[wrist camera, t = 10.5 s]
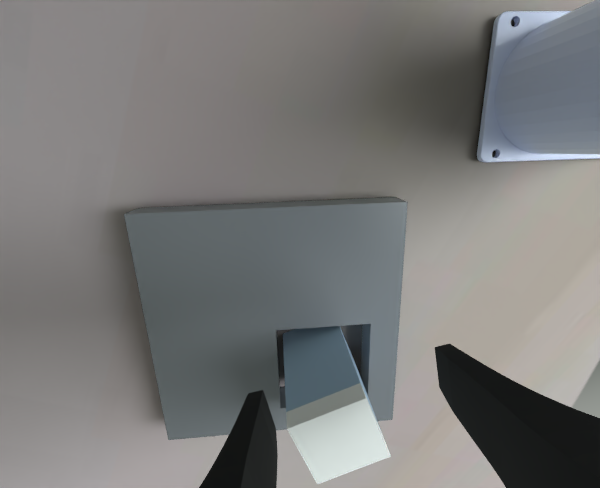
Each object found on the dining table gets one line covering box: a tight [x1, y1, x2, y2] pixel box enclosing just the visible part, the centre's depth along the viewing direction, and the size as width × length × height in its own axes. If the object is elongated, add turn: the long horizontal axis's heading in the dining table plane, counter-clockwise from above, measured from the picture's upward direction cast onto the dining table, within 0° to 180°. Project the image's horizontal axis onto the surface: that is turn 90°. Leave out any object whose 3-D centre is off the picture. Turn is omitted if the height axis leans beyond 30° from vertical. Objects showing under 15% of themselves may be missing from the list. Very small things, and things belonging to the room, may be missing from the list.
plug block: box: [283, 326, 391, 484], centre depth 19 cm, size 4×4×8 cm
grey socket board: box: [124, 197, 408, 440], centre depth 21 cm, size 16×16×2 cm
